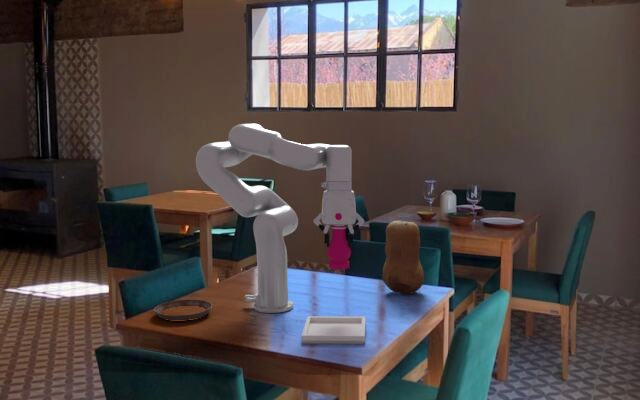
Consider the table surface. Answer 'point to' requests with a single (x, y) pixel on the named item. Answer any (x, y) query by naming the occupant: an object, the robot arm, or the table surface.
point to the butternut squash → (402, 258)
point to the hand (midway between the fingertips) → (338, 245)
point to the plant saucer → (186, 302)
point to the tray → (334, 330)
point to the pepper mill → (338, 247)
